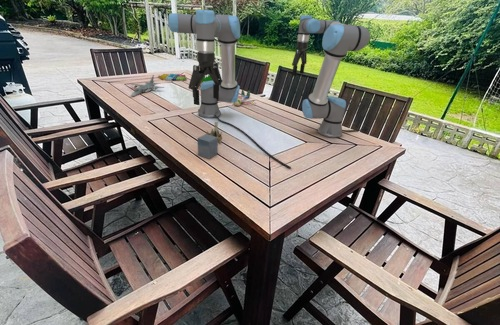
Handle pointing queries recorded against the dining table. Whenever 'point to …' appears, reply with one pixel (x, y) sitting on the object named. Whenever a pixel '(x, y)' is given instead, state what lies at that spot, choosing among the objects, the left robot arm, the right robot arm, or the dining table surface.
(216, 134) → the jawbone
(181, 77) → the sign
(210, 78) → the ornament
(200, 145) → the block
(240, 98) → the toy
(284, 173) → the dining table surface
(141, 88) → the airplane
